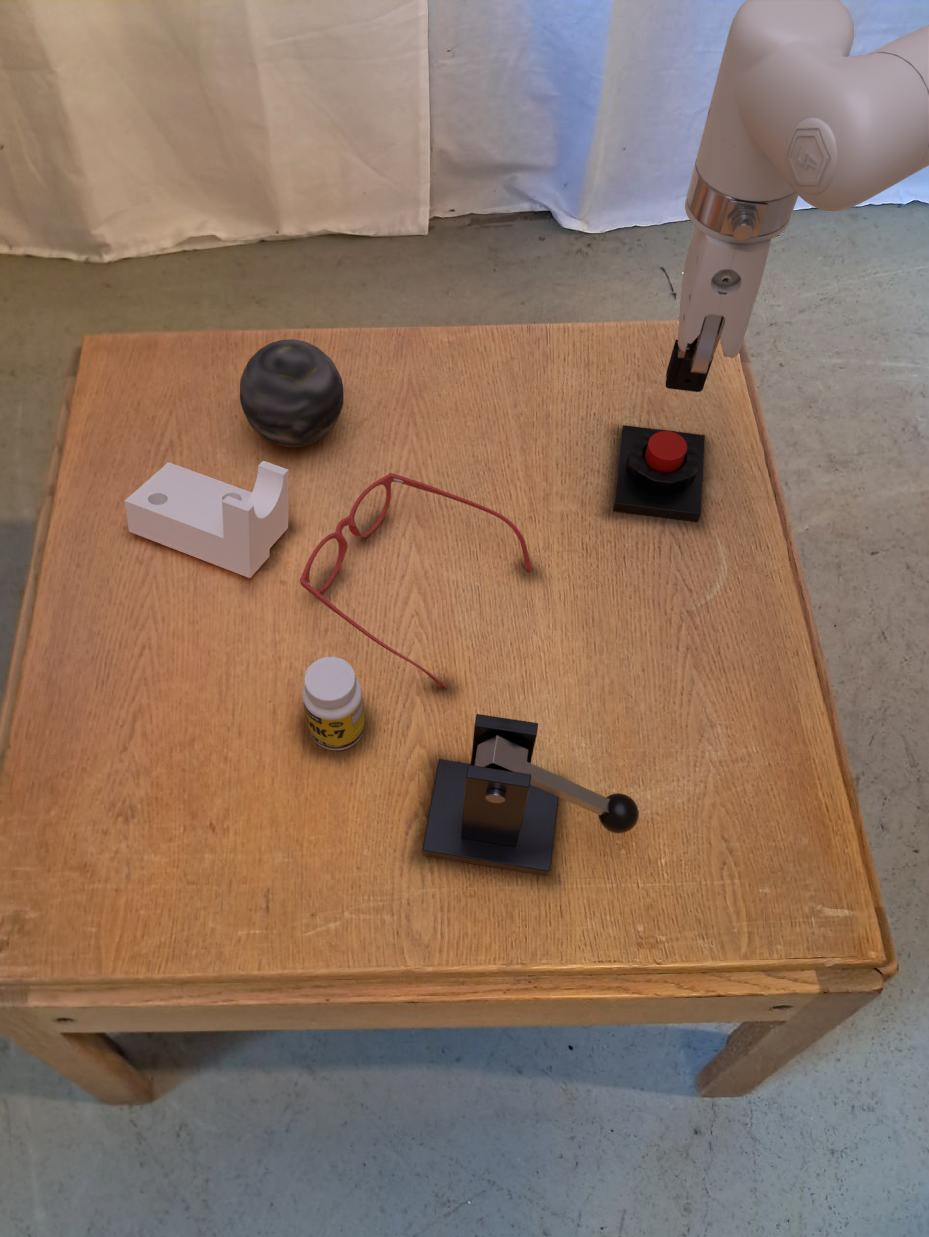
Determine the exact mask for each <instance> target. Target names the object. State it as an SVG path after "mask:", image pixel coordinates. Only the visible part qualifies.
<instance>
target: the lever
mask: <svg viewBox="0 0 929 1237" xmlns="http://www.w3.org/2000/svg"><path fill="white" fill-rule="evenodd" d="M527 755H528V749H526V748H524V747H522V746H520V745H517V744H515V743H513V742H511V741H509V740H507V739H504V738H502V737H500V736H498V735H496V736H494V737H492V738H490V739H488V740H487V741H485V742H483V743H481V744H479V745H478V747H477V753H476V759H475V765H474V766H480V767H487V768H493V769H499V770H506V771H512V772H519V773H525V774H531V782H530V785H533V786H535V787H537V788H539V789H542V790H544V791H546V792H548V793H551V794H553V795H555V796H557V797H559V798H560V799H562V800H564V801H567V802H568V803H571V804H573V805H575V806H578V807H580V808H582V809H584V810H587V811H590V812H591V813H594V814H596V815H597V816H598V820H599V822H600V824H601V826H602V827H603V828H604V829H605V830H606V831H608V832H610V833H613V834H626V833H628V832H630V831H631V830H633V829H634V827H636V825H637V823H638V820H639V819H640V818H639V817H640V811H639V807H638V805H637V803H636V801H635V800H634V799H633V798H632V797H631V796H629V795H627V794H626V793H625V794H624V793H619V792H617V793H616V792H615V793H611V794H608V795H607V796H604V795H601V794H599V793H597V792H595V791H593V790H591V789H588V788H586V787H584V786H583V785H582V786H581V785H580V784H578V783H575V782H573V781H571V780H568V779H566V778H564V777H562V776H560V775H557V774H555V773H553V772H550V771H548V770H546V769H544V768H542V767H540V766H538V765H536V764H534V763H532V762H531V763H529V762H527Z"/></svg>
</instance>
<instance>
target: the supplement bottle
mask: <svg viewBox="0 0 929 1237" xmlns="http://www.w3.org/2000/svg"><path fill="white" fill-rule="evenodd" d="M354 670H355V669H353V667H352V665H351V664H350V663H349V662H348V661H347V660H345V659H343V658H340V657H338V656H324V657H321V658H318V659H317V660H314V661H313V662H312V663H310V665H309V666H308V667H307V669H306V671H305V673H304V678H303V682H304V684H303V687H302V690H301V692H302V693H301V699H302V703H303V708H304V712H305V717H306V722H307V727H308V731H309V734H310V737H311V739H312V740H313V741H314V742H315V743H316V745H318V746H319V747H322V748H324V749H326V750H329V751H342V750H347V749H349V748H351V747H353V746H354V745H355V744H357V743H358V742H359V741H360V739H361V738H362V736H363V734H364V732H365V729H366V728H365V727H366V720H365V709H364V698H363V697H364V696H363V690H362V685H361V683H360V681H359V679H358V678H357V676H356V673H355V671H354Z"/></svg>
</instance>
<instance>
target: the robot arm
mask: <svg viewBox="0 0 929 1237" xmlns="http://www.w3.org/2000/svg"><path fill="white" fill-rule="evenodd" d="M854 38H855V25H854V21H853V18H852V14H851V13H850V10H849V9H848V8H847V7H846V6H845V4H844V3H843V2H842V1H841V0H745V1H744V2H743V3H742V4H741V6H740V7H739V8H738V9H737V11H736V13H735V15H734V17H733V18H732V21H731V24H730V27H729V31H728V33H727V37H726V40H725V46H724V49H723V53H722V57H721V61H720V65H719V69H718V72H717V76H716V81H715V84H714V88H713V92H712V97H711V100H710V103H709V108H708V110H707V111H708V112H707V115H706V120H705V123H704V127H703V131H702V135H701V138H700V142H699V146H698V150H697V154H696V159H695V162H694V166H693V169H692V174H691V178H690V182H689V186H688V189H687V194H686V197H685V202H684V210H685V213H686V214H685V215H686V216H687V217H688V220H689V221H690V222H691V224H692V225H693V229H692V232H691V237H690V240H689V245H688V249H687V251H686V252H687V253H686V256H685V257H686V258H685V261H684V268H683V273H682V280H681V288H680V298H679V299H680V301H679V314H678V315H679V316H678V330H677V331H678V332H677V333H678V334H677V338H675V340H674V344H673V348H672V351H671V353H670V354H671V355H670V357H669V361H668V365H667V368H666V374H665V377H666V378H665V387H666V389H669V390H677V391H684V392H694V393H701V392H702V391H703V390H704V387H705V384H706V381H707V379H708V375H709V372H710V369H711V366H712V364H713V361H714V357H715V356H714V355H715V353H716V350H717V348H718V345H719V342H720V346H721V349H722V355H723V357H724V358H730V359H734V358H736V357H737V356H738V355H739V354H740V352H741V349H742V346H743V343H744V339H745V337H746V333H747V330H748V326H749V323H750V320H751V316H752V313H753V310H754V306H755V303H756V301H757V296H758V293H759V290H760V287H761V283H762V279H763V276H764V272H765V268H766V264H767V260H768V256H769V251H770V246H771V242H772V239H774V238H776V237H778V236H779V235H781V234H782V233H783V232H784V231H785V229H786V228H787V227H788V225H789V223H790V220H791V217H792V214H793V212H794V209H795V206H796V203H797V201H798V198H799V197H800V199H802V200H803V201H804V202H805V203H807V204H809V205H810V206H812V207H814V208H816V209H819V210H822V211H826V212H839V211H844V210H848V209H851V208H853V207H856V206H858V205H861V204H862V203H865V202H866V201H869V200H871V199H872V198H874V197H875V196H877V195H879V194H881V193H882V192H884V191H886V190H889V188H892V187H893V186H895V185H897V184H899V183H900V182H902V181H904V180H906V179H907V178H909V177H910V176H913V175H914V174H916V173H918V172H920V171H921V170H923V169H925V168H927V167H929V24H927V25H924V26H921V27H920V28H918V29H916V30H913V31H911V32H909V33H907V34H904V35H902V36H900V37H898V38H896V39H894V40H893V41H890V42H888V43H886V44H885V45H883V46H880V47H879V48H876V49H874V50H872V51H870V52H869V53H867V54H860V55H852V56H851V55H850V54H851V51H852V47H853V44H854Z"/></svg>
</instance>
